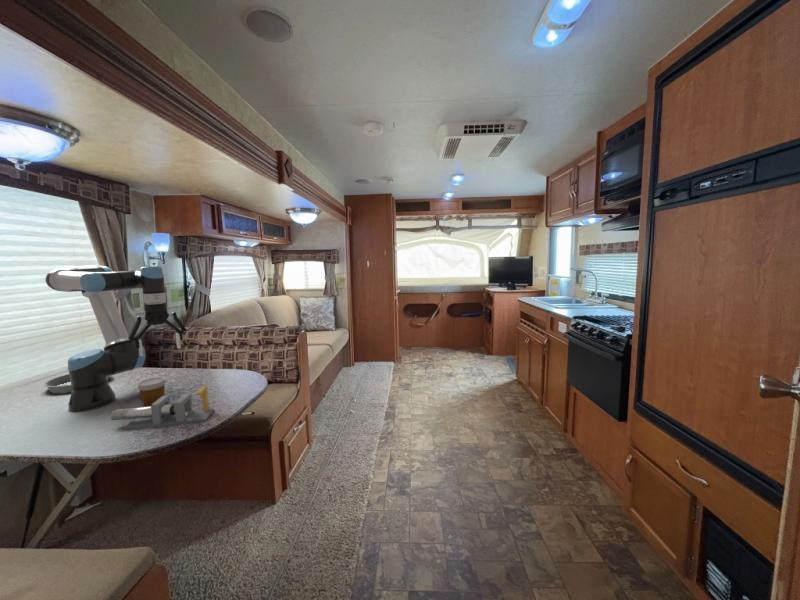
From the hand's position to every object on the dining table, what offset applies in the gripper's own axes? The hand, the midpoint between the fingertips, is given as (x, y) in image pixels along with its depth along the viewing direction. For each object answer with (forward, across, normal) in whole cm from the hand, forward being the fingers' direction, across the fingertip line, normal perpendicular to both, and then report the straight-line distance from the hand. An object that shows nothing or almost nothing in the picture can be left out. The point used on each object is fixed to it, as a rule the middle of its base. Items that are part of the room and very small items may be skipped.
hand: (160, 351), depth 140 cm
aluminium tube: (+21, -10, -15) cm, 28 cm away
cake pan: (+25, -20, +62) cm, 70 cm away
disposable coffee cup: (+24, -5, -2) cm, 24 cm away
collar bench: (+23, -4, -20) cm, 31 cm away
